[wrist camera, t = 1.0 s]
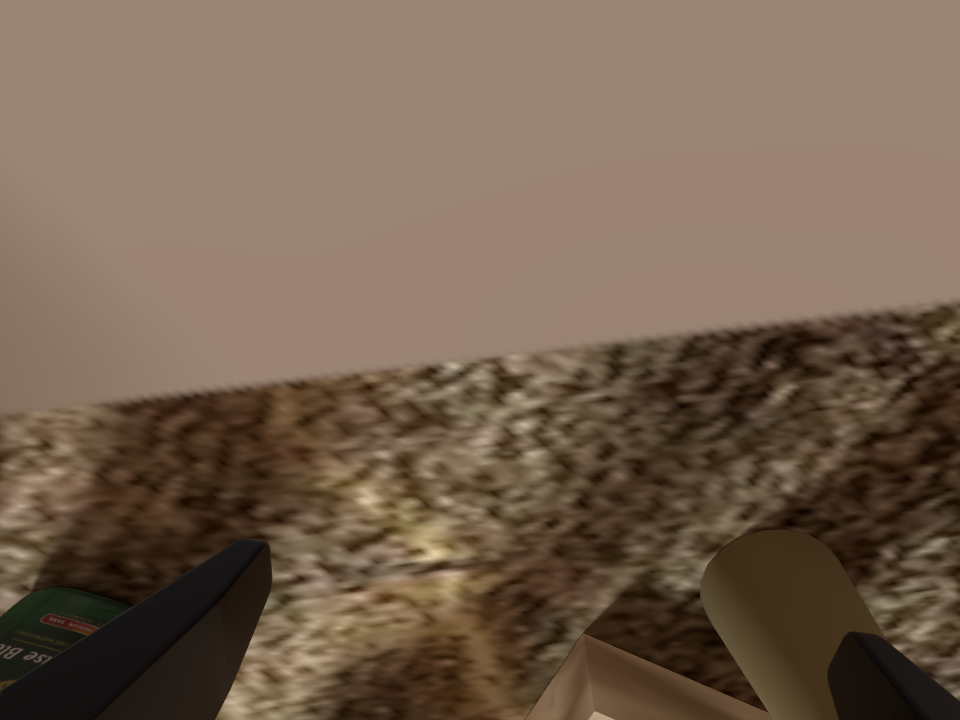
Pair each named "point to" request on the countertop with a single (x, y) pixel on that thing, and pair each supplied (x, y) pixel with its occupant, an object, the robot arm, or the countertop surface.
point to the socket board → (630, 690)
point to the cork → (784, 617)
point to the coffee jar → (49, 627)
